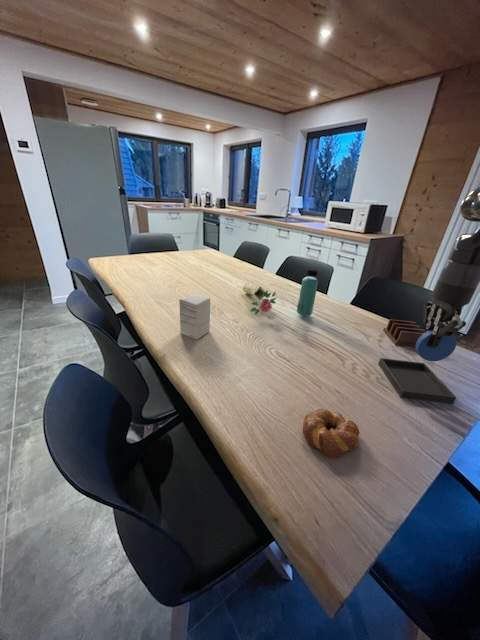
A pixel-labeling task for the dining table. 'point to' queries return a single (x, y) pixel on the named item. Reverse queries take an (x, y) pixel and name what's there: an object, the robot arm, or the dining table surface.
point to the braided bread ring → (330, 432)
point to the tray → (415, 381)
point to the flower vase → (259, 298)
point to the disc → (439, 352)
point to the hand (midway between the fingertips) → (429, 344)
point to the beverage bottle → (307, 293)
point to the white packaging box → (194, 315)
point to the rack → (403, 332)
